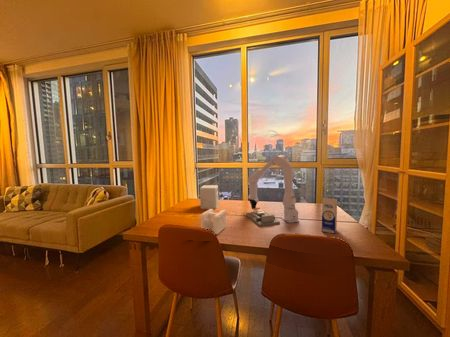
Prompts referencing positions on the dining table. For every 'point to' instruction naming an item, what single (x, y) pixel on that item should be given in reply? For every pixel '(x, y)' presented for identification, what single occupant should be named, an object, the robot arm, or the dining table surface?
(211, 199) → the supplement box
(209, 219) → the cable organizer
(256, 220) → the cutter base
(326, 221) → the milk carton
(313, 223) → the dining table surface
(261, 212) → the cutter blade
